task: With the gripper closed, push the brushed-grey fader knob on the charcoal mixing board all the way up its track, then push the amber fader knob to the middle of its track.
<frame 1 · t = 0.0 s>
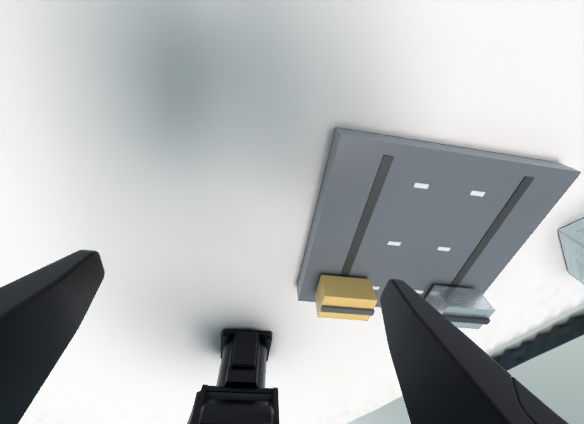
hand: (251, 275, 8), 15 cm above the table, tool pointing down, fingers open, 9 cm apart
amber fader: (344, 298, 25), point 4 cm above the table, slide at 0.0 cm
mixing board: (410, 232, 26), on the table
grey fader: (457, 308, 27), point 4 cm above the table, slide at 0.0 cm
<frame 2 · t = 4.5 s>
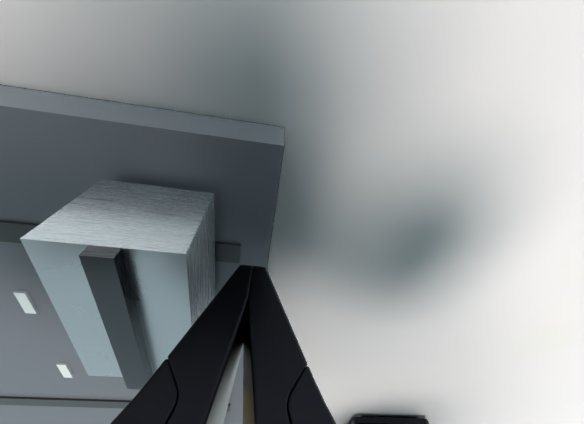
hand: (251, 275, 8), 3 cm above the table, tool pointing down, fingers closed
mixing board: (79, 301, 13), on the table
grey fader: (148, 288, 7), point 4 cm above the table, slide at 0.3 cm, touching gripper
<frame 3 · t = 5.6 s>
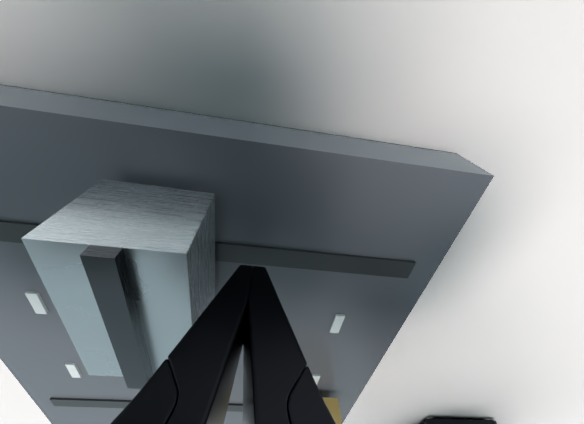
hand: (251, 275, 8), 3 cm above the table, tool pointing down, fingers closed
mixing board: (208, 310, 14), on the table
grey fader: (149, 288, 7), point 4 cm above the table, slide at 6.7 cm, touching gripper
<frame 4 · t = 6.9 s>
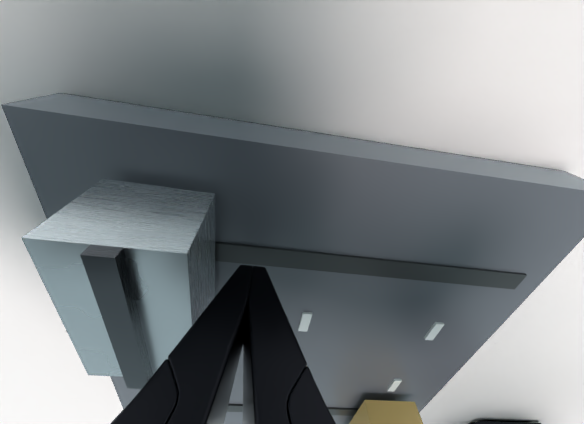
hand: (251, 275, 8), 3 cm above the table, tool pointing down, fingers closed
mixing board: (293, 317, 14), on the table
grey fader: (149, 288, 7), point 4 cm above the table, slide at 11.2 cm, touching gripper
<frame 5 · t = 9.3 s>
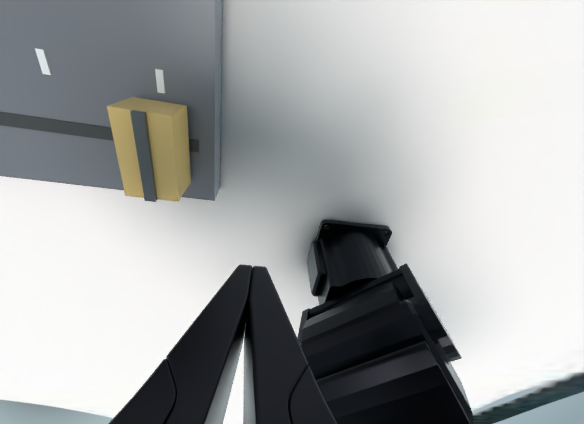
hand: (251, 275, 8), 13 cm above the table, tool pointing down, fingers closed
amber fader: (154, 151, 15), point 4 cm above the table, slide at 0.0 cm
mixing board: (56, 8, 14), on the table
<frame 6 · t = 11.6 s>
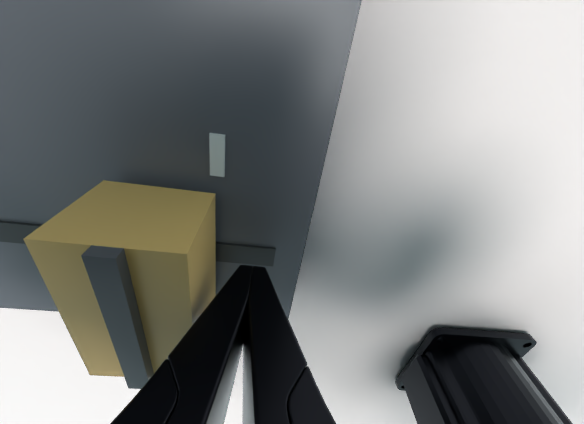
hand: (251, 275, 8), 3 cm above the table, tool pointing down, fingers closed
amber fader: (150, 288, 7), point 4 cm above the table, slide at 1.5 cm, touching gripper
mixing board: (7, 10, 7), on the table
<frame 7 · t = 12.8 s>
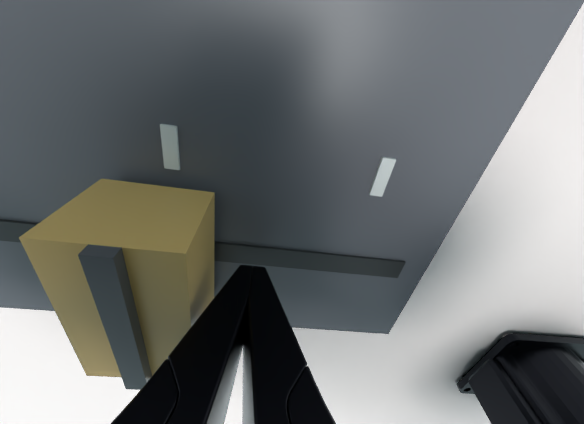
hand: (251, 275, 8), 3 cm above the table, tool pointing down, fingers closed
amber fader: (148, 288, 7), point 4 cm above the table, slide at 6.3 cm, touching gripper
mixing board: (189, 40, 7), on the table
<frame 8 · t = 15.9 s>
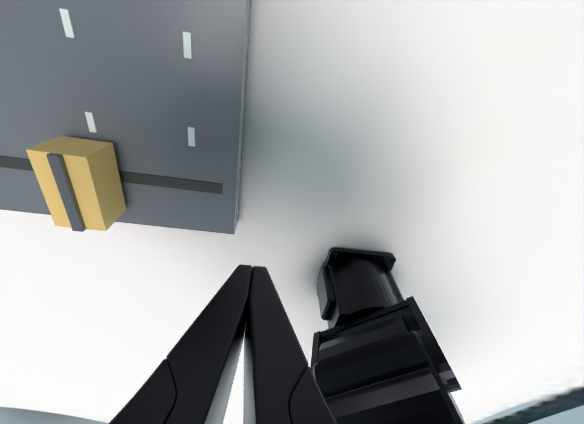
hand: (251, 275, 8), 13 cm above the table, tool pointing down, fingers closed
amber fader: (82, 185, 16), point 4 cm above the table, slide at 6.3 cm
mixing board: (101, 74, 16), on the table
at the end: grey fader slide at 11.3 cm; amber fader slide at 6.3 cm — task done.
